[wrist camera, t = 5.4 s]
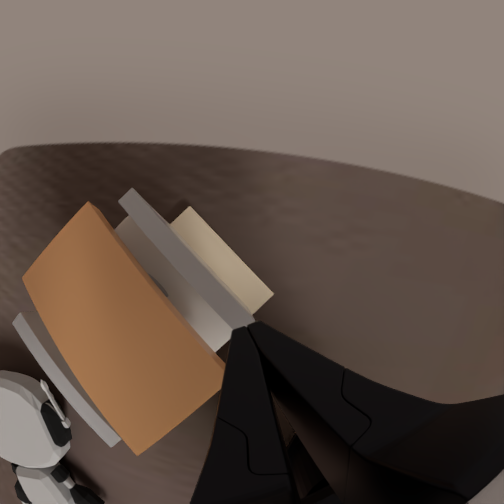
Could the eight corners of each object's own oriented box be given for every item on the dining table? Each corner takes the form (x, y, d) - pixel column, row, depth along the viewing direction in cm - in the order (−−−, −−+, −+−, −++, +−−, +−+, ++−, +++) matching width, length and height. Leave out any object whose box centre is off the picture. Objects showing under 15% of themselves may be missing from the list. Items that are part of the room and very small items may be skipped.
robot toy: (131, 506, 19) (65, 359, 20) (119, 536, 15) (34, 375, 15) (35, 495, 18) (-24, 367, 19) (17, 516, 14) (-53, 378, 14)
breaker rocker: (239, 372, 11) (231, 378, 9) (155, 442, 11) (137, 456, 9) (108, 216, 13) (88, 201, 12) (45, 285, 13) (21, 278, 11)
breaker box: (272, 293, 21) (300, 296, 11) (150, 405, 20) (97, 471, 10) (192, 209, 22) (158, 149, 12) (78, 323, 20) (-9, 337, 10)
